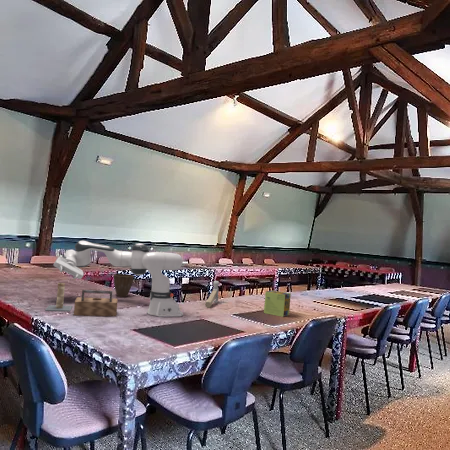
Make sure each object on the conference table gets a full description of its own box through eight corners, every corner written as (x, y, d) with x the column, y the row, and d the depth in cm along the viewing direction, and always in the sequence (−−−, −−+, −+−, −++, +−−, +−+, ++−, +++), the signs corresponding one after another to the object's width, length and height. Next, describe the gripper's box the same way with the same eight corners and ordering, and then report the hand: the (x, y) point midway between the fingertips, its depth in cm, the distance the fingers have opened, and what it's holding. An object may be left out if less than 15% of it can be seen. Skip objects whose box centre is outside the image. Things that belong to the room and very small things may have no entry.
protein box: (283, 317, 289) (285, 294, 290) (263, 313, 298) (265, 291, 298) (289, 315, 298) (291, 293, 299) (269, 311, 306) (271, 290, 307)
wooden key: (63, 307, 261) (65, 283, 261) (62, 308, 257) (64, 283, 258) (56, 307, 260) (58, 282, 260) (55, 308, 257) (57, 283, 257)
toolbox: (116, 311, 264) (118, 288, 264) (116, 316, 251) (118, 292, 251) (76, 310, 258) (78, 286, 258) (73, 315, 245) (75, 290, 245)
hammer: (211, 295, 298) (219, 281, 327) (205, 294, 299) (213, 280, 328) (210, 315, 301) (218, 300, 330) (204, 315, 302) (213, 299, 331)
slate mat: (72, 306, 267) (72, 305, 267) (70, 311, 254) (70, 310, 254) (48, 306, 264) (49, 305, 264) (45, 310, 250) (45, 309, 250)
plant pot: (110, 294, 322) (112, 273, 322) (129, 294, 328) (131, 274, 328) (113, 298, 309) (115, 276, 309) (134, 298, 315) (135, 276, 315)
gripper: (80, 274, 290) (79, 285, 278) (53, 261, 281) (51, 271, 269) (85, 268, 289) (85, 278, 277) (58, 253, 280) (56, 263, 268)
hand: (68, 274), depth 273 cm, fingers open, 8 cm apart
